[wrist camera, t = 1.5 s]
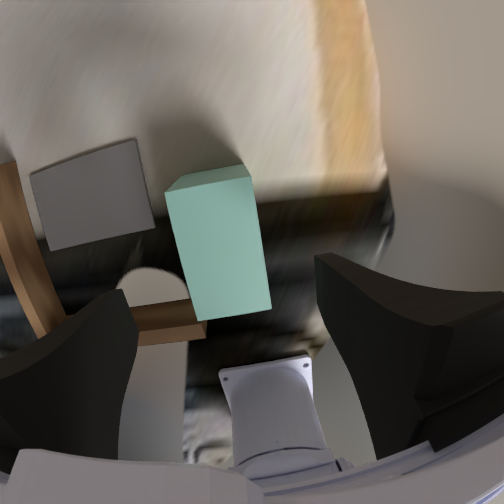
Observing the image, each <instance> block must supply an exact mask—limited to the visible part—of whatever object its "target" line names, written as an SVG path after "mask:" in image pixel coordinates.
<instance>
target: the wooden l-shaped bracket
mask: <svg viewBox="0 0 504 504" xmlns="http://www.w3.org/2000/svg"><path fill="white" fill-rule="evenodd" d="M0 254H1V257H2V260H3V262H4V265H5V268H6V270H7V273H8V275H9V278H10V280H11V283H12V285H13V287H14V290H15V292H16V294H17V296H18V299H19V301H20V303H21V305H22V307H23V309H24V312H25V314H26V316H27V318H28V320H29V322H30V324H31V326H32V328H33V329H34V331H35V333H36V335H37V337H38V339H40V338H41V337H43V336H44V335H46V334H47V333H49V332H50V331H52V330H53V329H55V328H56V327H58V326H59V325H60V324H62V323H63V322H64V321H66V320H67V319H69V318H70V317H71V316H73V315H66V313H65V311H64V309H63V307H62V305H61V302H60V300H59V298H58V295H57V293H56V291H55V288H54V286H53V283H52V281H51V278H50V276H49V273H48V271H47V268H46V266H45V263H44V260H43V257H42V255H41V252H40V249H39V246H38V243H37V240H36V237H35V234H34V231H33V228H32V224H31V221H30V218H29V214H28V210H27V207H26V203H25V199H24V195H23V191H22V187H21V183H20V179H19V174H18V169H17V164H16V161H13V162H9V163H5V164H1V165H0ZM129 308H130V311H131V313H132V316H133V318H134V320H135V323H136V325H137V328H138V330H139V339H138V346H145V345H155V344H164V343H173V342H181V341H189V340H196V339H203V338H206V328H207V320H203V321H198V320H197V316H196V313H195V310H194V306H193V303H192V299H191V298H190V299H183V300H177V301H171V302H164V303H157V304H150V305H143V306H136V307H129Z"/></svg>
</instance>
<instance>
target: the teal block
mask: <svg viewBox="0 0 504 504" xmlns="http://www.w3.org/2000/svg"><path fill="white" fill-rule="evenodd" d="M164 194H165V198H166V203H167V207H168V211H169V216H170V220H171V224H172V228H173V232H174V236H175V240H176V244H177V248H178V252H179V256H180V260H181V263H182V267H183V271H184V274H185V278H186V282H187V285H188V289H189V292H190V296H191V299H192V303H193V306H194V310H195V313H196V316H197V320H198V321H203V320H209V319H216V318H222V317H228V316H234V315H240V314H246V313H252V312H258V311H263V310H269V309H272V307H271V300H270V294H269V287H268V280H267V274H266V267H265V261H264V254H263V248H262V241H261V235H260V228H259V222H258V216H257V209H256V203H255V197H254V190H253V184H252V178H251V175H250V173H249V171H248V170H247V168H246V166H245V165H244V164H239V165H234V166H228V167H222V168H217V169H212V170H206V171H201V172H196V173H191V174H186V175H182V176H181V177H180V178H179V179H178V180H177V181H176V182H175V183H174V184H173V185H172V186H171V187H170V188H169V189H168V190H167V191H166V192H165V193H164Z"/></svg>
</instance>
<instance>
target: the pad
mask: <svg viewBox="0 0 504 504" xmlns="http://www.w3.org/2000/svg"><path fill="white" fill-rule="evenodd" d="M29 178H30V182H31V186H32V190H33V194H34V198H35V202H36V206H37V209H38V213H39V216H40V220H41V223H42V227H43V230H44V233H45V236H46V239H47V242H48V245H49V248H50V251H55V250H59V249H63V248H67V247H71V246H75V245H80V244H84V243H88V242H93V241H97V240H101V239H106V238H110V237H115V236H119V235H124V234H129V233H133V232H138V231H143V230H148V229H152V228H155V227H156V224H155V220H154V216H153V212H152V208H151V204H150V200H149V196H148V191H147V187H146V183H145V178H144V174H143V169H142V164H141V159H140V154H139V149H138V144H137V140H132V141H129V142H125V143H122V144H118V145H115V146H112V147H108V148H105V149H102V150H99V151H96V152H93V153H90V154H87V155H84V156H81V157H78V158H75V159H72V160H70V161H67V162H64V163H61V164H59V165H56V166H53V167H51V168H48V169H46V170H43V171H41V172H38V173H36V174H33V175H31V176H29Z"/></svg>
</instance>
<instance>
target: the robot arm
mask: <svg viewBox="0 0 504 504" xmlns="http://www.w3.org/2000/svg"><path fill="white" fill-rule="evenodd" d="M314 262H315V277H316V293H317V304H318V307H319V310H320V313H321V316H322V319H323V321H324V324H325V326H326V328H327V330H328V332H329V334H330V336H331V338H332V339H333V341H334V343H335V345H336V347H337V349H338V351H339V353H340V355H341V357H342V358H343V360H344V362H345V364H346V366H347V368H348V371H349V372H350V375H351V377H352V380H353V383H354V385H355V388H356V391H357V394H358V397H359V400H360V402H361V405H362V409H363V411H364V415H365V418H366V421H367V425H368V428H369V431H370V435H371V439H372V442H373V446H374V450H375V454H376V459H377V461H374V462H371V463H368V464H365V465H362V466H359V467H356V466H355V465H354V463H353V462H351V461H349V460H347V459H346V458H344V457H340V458H338V459H334V456H333V452H332V449H331V448H327V446H326V442H325V439H324V436H323V433H322V429H321V426H320V422H319V419H318V416H317V412H316V409H315V406H314V403H313V388H312V387H313V386H312V366H311V365H312V364H311V358H310V356H309V355H307V354H306V355H300V356H295V357H290V358H285V359H280V360H275V361H269V362H263V363H258V364H251V365H245V366H239V367H232V368H225V369H221V370H219V378H220V381H221V384H222V387H223V390H224V393H225V396H226V399H227V402H228V405H229V407H230V410H231V416H232V437H233V456H234V467H230V468H228V470H225V469H220V468H217V467H213V466H209V465H198V464H184V463H173V462H139V461H120V460H118V437H119V425H120V416H121V409H122V404H123V399H124V395H125V392H126V388H127V384H128V381H129V377H130V374H131V370H132V367H133V363H134V360H135V357H136V352H137V346H138V339H139V330H138V328H137V325H136V323H135V320H134V318H133V316H132V313H131V311H130V308H129V306H128V303H127V301H126V298H125V295H124V293H123V290H122V289H116V290H110V291H107V292H105V293H103V294H101V295H100V296H98V297H97V298H95V299H94V300H93V301H91V302H90V303H88V304H87V305H86V306H84V307H83V308H82V309H81V310H79V311H78V312H77V313H75V314H74V315H73V316H71V317H70V318H69V319H67V320H66V321H64V322H63V323H62V324H60V325H59V326H58V327H56V328H55V329H53V330H52V331H50V332H49V333H47V334H46V335H44V336H43V337H41V338H40V339H38V340H36V341H35V342H33V343H31V344H29V345H27V346H25V347H23V348H22V349H20V350H18V351H16V352H14V353H12V354H10V355H7V356H5V357H3V358H0V504H486V503H488V502H489V501H491V500H492V499H494V498H495V497H496V496H498V495H499V494H500V493H502V492H503V491H504V292H501V291H498V292H495V291H494V292H466V291H453V290H444V289H437V288H432V287H426V286H421V285H416V284H412V283H409V282H405V281H401V280H398V279H395V278H391V277H388V276H386V275H383V274H380V273H378V272H375V271H373V270H370V269H368V268H366V267H363V266H361V265H359V264H357V263H354V262H352V261H350V260H348V259H345V258H343V257H341V256H339V255H336V254H333V253H325V254H320V255H314ZM305 363H307V364H305ZM304 364H305V365H304ZM224 377H227V378H224Z"/></svg>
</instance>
